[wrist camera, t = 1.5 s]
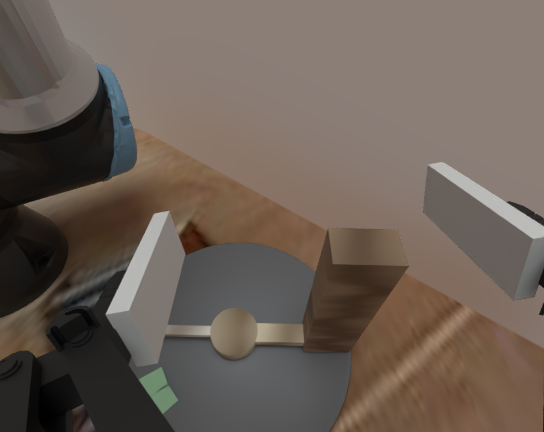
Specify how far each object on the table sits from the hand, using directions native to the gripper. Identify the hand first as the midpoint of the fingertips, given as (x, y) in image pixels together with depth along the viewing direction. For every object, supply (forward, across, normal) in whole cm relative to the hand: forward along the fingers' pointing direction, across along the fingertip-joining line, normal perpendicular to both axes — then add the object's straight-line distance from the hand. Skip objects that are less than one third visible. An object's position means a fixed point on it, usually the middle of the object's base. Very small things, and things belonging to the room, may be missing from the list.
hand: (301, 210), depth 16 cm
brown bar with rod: (+10, -7, -21) cm, 24 cm away
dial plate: (+11, -8, -22) cm, 26 cm away
